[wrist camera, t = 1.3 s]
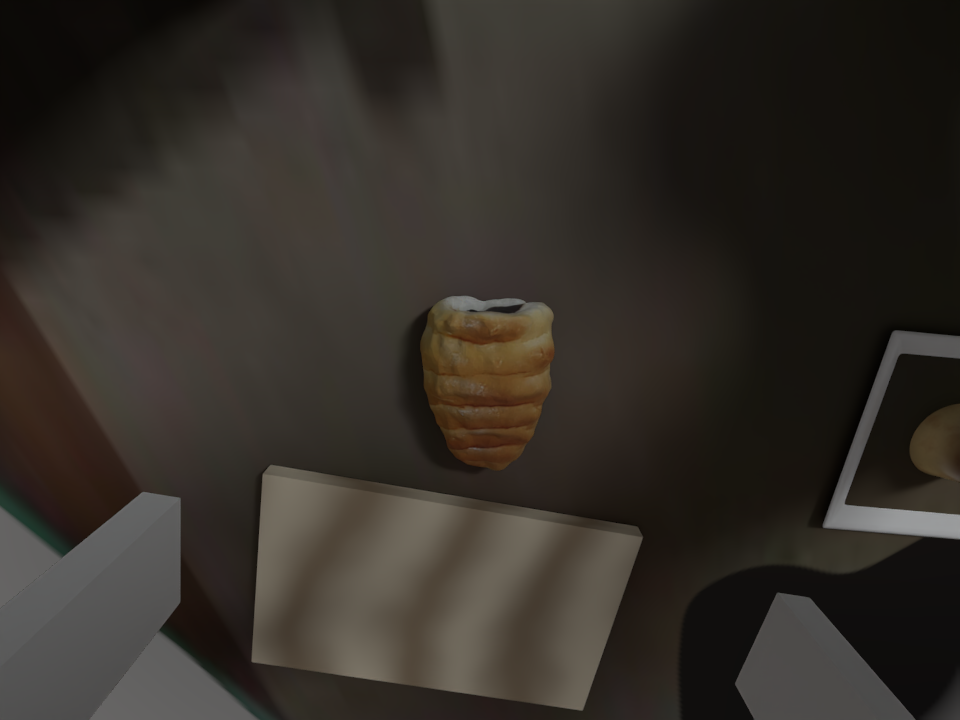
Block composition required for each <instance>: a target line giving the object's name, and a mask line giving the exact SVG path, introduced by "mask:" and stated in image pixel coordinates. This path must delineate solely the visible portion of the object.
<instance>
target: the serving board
mask: <svg viewBox="0 0 960 720" xmlns="http://www.w3.org/2000/svg"><path fill="white" fill-rule="evenodd" d="M642 539H643V536H642V534H641V532H640V530H639V528H638V526H632V525H626V524H620V523H614V522H608V521H602V520H596V519H590V518H584V517H578V516H572V515H567V514H561V513H555V512H549V511H543V510H537V509H531V508H525V507H519V506H513V505H507V504H501V503H495V502H489V501H483V500H477V499H472V498H466V497H460V496H454V495H448V494H442V493H436V492H430V491H424V490H418V489H412V488H406V487H400V486H394V485H388V484H382V483H377V482H371V481H365V480H359V479H353V478H347V477H341V476H335V475H329V474H323V473H317V472H311V471H305V470H299V469H293V468H288V467H282V466H276V465H270V466H269V467H268V468H267V469H266V471H265V472H264V473H263V478H262V495H261V512H260V528H259V545H258V561H257V578H256V595H255V611H254V628H253V645H252V661H251V662H255V663H262V664H268V665H275V666H282V667H289V668H296V669H303V670H309V671H316V672H323V673H330V674H337V675H343V676H350V677H357V678H364V679H371V680H377V681H384V682H391V683H398V684H405V685H411V686H418V687H425V688H432V689H439V690H445V691H452V692H459V693H466V694H473V695H479V696H486V697H493V698H500V699H507V700H513V701H520V702H527V703H534V704H541V705H548V706H554V707H561V708H568V709H575V710H582V711H583V708H584V705H585V702H586V699H587V697H588V694H589V691H590V688H591V685H592V682H593V679H594V677H595V674H596V671H597V668H598V665H599V662H600V659H601V657H602V654H603V651H604V648H605V645H606V642H607V639H608V636H609V634H610V631H611V628H612V625H613V622H614V619H615V616H616V614H617V611H618V608H619V605H620V602H621V599H622V596H623V593H624V591H625V588H626V585H627V582H628V579H629V576H630V573H631V571H632V568H633V565H634V562H635V559H636V556H637V553H638V551H639V548H640V545H641V542H642Z"/></svg>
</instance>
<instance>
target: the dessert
mask: <svg viewBox="0 0 960 720" xmlns="http://www.w3.org/2000/svg"><path fill="white" fill-rule="evenodd" d="M903 353H905V354H916V355H927V356H938V357H949V358H960V336H952V335H942V334H931V333H920V332H910V331H899V330H895V331H893V332H892V334H891V337H890V339H889V342H888V345H887V348H886V350H885V353H884V356H883V359H882V362H881V364H880V367H879V370H878V373H877V375H876V378H875V381H874V384H873V386H872V389H871V392H870V395H869V397H868V400H867V403H866V406H865V409H864V411H863V414H862V417H861V420H860V422H859V425H858V428H857V431H856V433H855V436H854V439H853V442H852V445H851V447H850V450H849V453H848V456H847V458H846V461H845V464H844V467H843V469H842V472H841V475H840V478H839V480H838V483H837V486H836V489H835V492H834V494H833V497H832V500H831V503H830V505H829V508H828V511H827V514H826V516H825V519H824V522H823V525H822V526H823V528H828V529H840V530H852V531H864V532H876V533H889V534H901V535H913V536H925V537H937V538H949V539H960V515H952V514H941V513H930V512H919V511H907V510H896V509H885V508H873V507H862V506H851V505H846V504H845V500H846V497H847V494H848V491H849V489H850V486H851V483H852V481H853V478H854V475H855V472H856V470H857V467H858V464H859V462H860V459H861V456H862V453H863V451H864V448H865V445H866V443H867V440H868V437H869V435H870V432H871V429H872V426H873V424H874V421H875V418H876V416H877V413H878V410H879V407H880V405H881V402H882V399H883V397H884V394H885V391H886V389H887V386H888V383H889V380H890V378H891V375H892V372H893V370H894V367H895V364H896V361H897V359H898V356H899V355H900V354H903ZM910 457H911V460H912V462H913V463H914V465H915V466H916V467H917V468H918V469H919V470H921V471H922V472H924V473H926V474H930V475H934V476H938V477H942V478H945V479H949V480H952V481H956V482H959V483H960V404H954V405H950V406H946V407H944V408H941V409H939V410H937V411H936V412H934V413H932V414H931V415H930V416H928V417H927V418H926V419H925V420H924V421H923V422H922V423H921V424H920V425H919V426H918V428H917V429H916V431H915V432H914V434H913V437H912V439H911V443H910Z"/></svg>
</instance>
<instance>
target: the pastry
mask: <svg viewBox="0 0 960 720" xmlns="http://www.w3.org/2000/svg"><path fill="white" fill-rule="evenodd" d="M553 318H554V315H553V312H552V310H551V309H550V308H549V307H548V306H546V305H545V304H544V303H541V302H530V303H526V302H525V301H523V300H520V299H510V298H505V299H500V300H496V299H494V300H487V301H480V300H477V299H476V298H473V297H469V296H451V297H448V298H445V299H443V300H441V301H439V302H438V303H437V304H435V305H434V306H433V307H432V308H431V310H430V312H429V313H428V321H427V325H426V328H425V331H424V333H423V335H422V338H421V342H420V351H421V355H422V363H423V371H424V389H425V391H426V393H427V396H428V401H429V405H430V408H431V410H432V411H433V413H434V415H435V419H436V423H437V424H438V425H439V426H440V429H441V430H442V432H443V434H444V436H445V439H446V442H447V447H448V449H449V450H450V451H451V452H452V453H453V454H454V456H455V457H456V458H457V459H459V460H461V461H463V462H464V463H466V464H468V465H473V466H478V467H487V468H489V469H491V470H497V471H499V470H503V469H504V468H506V467H507V466H508V465H509V464H510V463H511V462H512V461H514V460H516V459H517V458H518V457H519V456H520V455H521V454H522V452H523V450H524V448H525V445H526V443H528V442H529V440H530V439H531V438H532V436H533V435H534V432H535V431H534V430H535V427H536V425H537V423H538V419H539V417H540V415H541V410H542V404H543V402H544V400H545V398H546V397H547V396H548V393H549V391H550V389H551V378H550V375H549V372H550V363H551V362H552V360H553V358H554V343H553V339H552V330H551V325H552V321H553Z"/></svg>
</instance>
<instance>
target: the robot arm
mask: <svg viewBox="0 0 960 720" xmlns="http://www.w3.org/2000/svg"><path fill="white" fill-rule="evenodd" d="M180 535H181V498H178V497H172V496H165V495H159V494H153V493H147V492H142V493H141V494H140V495H139V496H137V497H136V498H135V499H134V500H132V501H131V502H130V503H129V504H128V505H126V506H125V507H124V508H123V509H121V510H120V511H119V512H118V513H117V514H115V515H114V516H113V517H112V518H110V519H109V520H108V521H107V522H106V523H104V524H103V525H102V526H101V527H99V528H98V529H97V530H96V531H94V532H93V533H92V534H91V535H90V536H88V537H87V538H86V539H85V540H83V541H82V542H81V543H80V544H79V545H77V546H76V547H75V548H74V549H72V550H71V551H70V552H69V553H68V554H66V555H65V556H64V557H63V558H61V559H60V560H59V561H58V562H57V563H55V564H54V565H53V566H52V567H50V568H49V569H48V570H47V571H45V572H44V573H43V574H42V575H41V576H39V577H38V578H37V579H36V580H34V581H33V582H32V583H31V584H30V585H28V586H27V587H26V588H25V589H23V590H22V591H21V592H20V593H18V594H17V595H16V596H15V597H14V598H12V599H11V600H10V601H9V602H8V603H6V604H5V605H4V606H3V607H1V608H0V720H89V719H90V718H91V717H92V716H93V714H94V713H95V712H96V710H97V709H98V708H99V706H100V705H101V704H102V703H103V701H104V700H105V699H106V698H107V696H108V695H109V694H110V692H111V691H112V690H113V688H114V687H115V686H116V685H117V683H118V682H119V681H120V679H121V678H122V677H123V676H124V674H125V673H126V672H127V670H128V669H129V668H130V667H131V665H132V664H133V663H134V661H135V660H136V659H137V658H138V656H139V655H140V654H141V652H142V651H143V650H144V649H145V647H146V646H147V645H148V643H149V642H150V641H151V640H152V638H153V637H154V636H155V634H156V633H157V632H158V631H159V629H160V628H161V627H162V625H163V624H164V623H165V622H166V620H167V619H168V618H169V616H170V615H171V614H172V613H173V611H174V610H175V609H176V607H177V606H178V605H179V604H180ZM735 685H736V687H737V688H738V690H739V692H740V694H741V696H742V697H743V699H744V701H745V703H746V705H747V707H748V708H749V710H750V712H751V714H752V716H753V718H754V719H755V720H915V719H914V717H913V716H912V715H911V714H910V713H909V712H908V711H907V710H906V708H905V707H904V706H903V705H902V704H901V702H900V701H899V700H898V699H897V698H896V697H895V696H894V694H893V693H892V692H891V691H890V690H889V689H888V688H887V687H886V685H885V684H884V683H883V682H882V681H881V680H880V678H879V677H878V676H877V675H876V674H875V673H874V671H873V670H872V669H871V668H870V667H869V666H868V665H867V663H866V662H865V661H864V660H863V659H862V658H861V656H860V655H859V654H858V653H857V652H856V651H855V650H854V648H853V647H852V646H851V645H850V644H849V643H848V641H847V640H846V639H845V638H844V637H843V636H842V635H841V633H840V632H839V631H838V630H837V629H836V628H835V627H834V625H833V624H832V623H831V622H830V621H829V620H828V618H827V617H826V616H825V615H824V614H823V613H822V612H821V610H820V609H819V608H818V607H817V606H816V605H815V603H814V602H813V601H812V600H811V599H810V598H808V597H802V596H795V595H789V594H783V593H777V594H776V597H775V599H774V601H773V603H772V605H771V607H770V610H769V612H768V614H767V616H766V618H765V620H764V622H763V625H762V627H761V629H760V631H759V633H758V635H757V638H756V640H755V642H754V644H753V646H752V648H751V650H750V653H749V655H748V657H747V659H746V661H745V663H744V666H743V668H742V670H741V672H740V674H739V676H738V678H737V681H736V683H735Z"/></svg>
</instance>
